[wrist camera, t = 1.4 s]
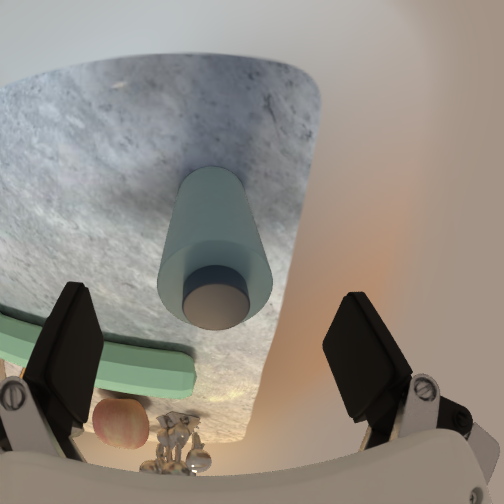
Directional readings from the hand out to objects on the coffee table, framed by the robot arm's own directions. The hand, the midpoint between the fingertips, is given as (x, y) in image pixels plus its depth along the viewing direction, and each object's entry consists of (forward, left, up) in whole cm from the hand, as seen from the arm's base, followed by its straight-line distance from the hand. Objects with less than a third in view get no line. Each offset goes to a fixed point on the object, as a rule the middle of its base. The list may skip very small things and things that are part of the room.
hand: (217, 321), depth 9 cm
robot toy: (+37, -5, -10) cm, 38 cm away
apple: (+29, -11, -10) cm, 32 cm away
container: (+16, -13, -10) cm, 23 cm away
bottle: (0, 0, -10) cm, 10 cm away
